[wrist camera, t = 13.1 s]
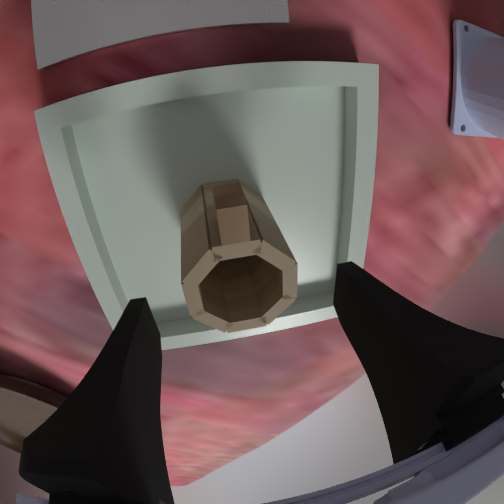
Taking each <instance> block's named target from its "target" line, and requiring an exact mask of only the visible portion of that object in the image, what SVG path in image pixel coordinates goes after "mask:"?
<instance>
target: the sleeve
mask: <svg viewBox="0 0 504 504" xmlns="http://www.w3.org/2000/svg"><path fill="white" fill-rule="evenodd" d="M297 279H298V264H297V262H296V260H295V258H294V256H293V254H292V252H291V250H290V248H289V246H288V244H287V242H286V240H285V238H284V237H283V235H282V233H281V231H280V229H279V227H278V225H277V223H276V221H275V219H274V217H273V215H272V214H271V212H270V210H269V208H268V206H267V204H266V202H265V200H264V199H263V197H262V196H261V195H259V194H258V193H257V192H255V191H254V190H252V189H251V188H250V187H248V186H247V185H245V184H244V183H243V182H241V181H240V180H239V179H238V180H236V179H231V180H224V181H217V182H211V183H205V184H203V186H202V185H200V187H199V188H198V189H197V191H196V192H195V193H194V194H193V196H192V197H191V198H190V200H189V201H188V202H187V203H186V205H185V206H184V207H183V209H182V212H181V286H182V289H183V293H184V297H185V300H186V304H187V307H188V311H189V314H190V317H191V316H192V319H195V320H197V321H199V322H201V323H204V324H206V325H208V326H210V327H213V328H215V329H217V330H219V331H222V332H224V333H225V332H227V333H231V332H237V331H242V330H248V329H253V328H258V327H264V326H266V324H268V325H269V324H270V323H271V322H272V321H274V320H275V319H276V318H277V317H278V316H279V315H280V314H281V313H282V312H283V311H284V310H285V309H286V308H287V307H289V306H290V305H291V304H292V303H293V302H294V301H295V300H296V297H297Z"/></svg>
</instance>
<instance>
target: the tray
mask: <svg viewBox="0 0 504 504" xmlns="http://www.w3.org/2000/svg"><path fill="white" fill-rule="evenodd" d="M378 95H379V65H378V64H369V63H359V62H341V61H274V62H256V63H242V64H231V65H222V66H213V67H205V68H198V69H191V70H184V71H178V72H172V73H167V74H161V75H156V76H151V77H146V78H142V79H137V80H133V81H128V82H124V83H120V84H116V85H112V86H108V87H105V88H101V89H98V90H94V91H91V92H87V93H84V94H81V95H77V96H74V97H71V98H68V99H65V100H62V101H59V102H56V103H53V104H50V105H48V106H45V107H43V108H40V109H38V110H36V111H34V114H35V119H36V123H37V128H38V132H39V136H40V140H41V144H42V148H43V152H44V155H45V159H46V163H47V166H48V170H49V173H50V177H51V180H52V183H53V186H54V189H55V193H56V196H57V199H58V202H59V205H60V208H61V211H62V213H63V216H64V219H65V222H66V225H67V227H68V230H69V233H70V235H71V238H72V240H73V243H74V246H75V248H76V251H77V253H78V256H79V258H80V260H81V263H82V265H83V268H84V270H85V272H86V274H87V277H88V279H89V281H90V284H91V286H92V288H93V290H94V292H95V294H96V297H97V299H98V301H99V303H100V305H101V307H102V309H103V311H104V313H105V315H106V317H107V319H108V321H109V323H110V325H111V327H112V329H113V330H114V328H115V326H116V325H117V323H118V321H119V319H120V317H121V315H122V313H123V311H124V310H125V308H126V306H127V304H128V302H129V301H130V299H136V298H142V297H146V299H147V301H148V304H149V307H150V309H151V312H152V314H153V317H154V319H155V322H156V325H157V327H158V330H159V332H160V335H161V350H166V349H173V348H180V347H187V346H193V345H200V344H206V343H212V342H218V341H224V340H230V339H236V338H241V337H247V336H252V335H257V334H262V333H267V332H272V331H277V330H282V329H287V328H292V327H296V326H301V325H306V324H310V323H314V322H319V321H323V320H327V319H332V318H336V317H338V316H337V313H336V311H335V308H334V305H333V297H334V289H335V280H336V270H337V264H339V263H345V262H350V261H352V262H354V263H355V264H357V265H358V266H360V267H361V268H362V269H363V266H364V259H365V253H366V246H367V239H368V231H369V223H370V215H371V206H372V196H373V186H374V175H375V162H376V147H377V128H378ZM231 179H236V180H238V179H239V180H240V181H241V182H243V183H244V184H245V185H247V186H248V187H250V188H251V189H252V190H254V191H255V192H257V193H258V194H259V195H261V196H262V197H263V199H264V200H265V202H266V204H267V206H268V208H269V210H270V212H271V214H272V215H273V217H274V219H275V221H276V223H277V225H278V227H279V229H280V231H281V233H282V235H283V237H284V238H285V240H286V242H287V244H288V246H289V248H290V250H291V252H292V254H293V256H294V258H295V260H296V262H297V264H298V279H297V297H296V300H295V301H294V302H293V303H292V304H291V305H290V306H289V307H287V308H286V309H285V310H284V311H283V312H282V313H281V314H280V315H279V316H278V317H277V318H276V319H275V320H274V321H272V322H271V323H270V324H269V325H268V324H266V326H264V327H258V328H253V329H248V330H242V331H237V332H231V333H227V332H225V333H224V332H222V331H219V330H217V329H215V328H213V327H210V326H208V325H206V324H204V323H201V322H199V321H197V320H195V319H192V316H191V317H190V314H189V311H188V307H187V304H186V300H185V297H184V293H183V289H182V286H181V212H182V209H183V207H184V206H185V205H186V203H187V202H188V201H189V200H190V198H191V197H192V196H193V194H194V193H195V192H196V191H197V189H198V188H199V187H200V185H202V186H203V184H205V183H211V182H217V181H224V180H231Z"/></svg>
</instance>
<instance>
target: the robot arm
mask: <svg viewBox="0 0 504 504" xmlns="http://www.w3.org/2000/svg"><path fill="white" fill-rule="evenodd" d="M464 27H465V30H464ZM453 45H454V68H453V95H452V110H451V122H450V130H451V132H452V133H454V134H456V135H468V136H482V137H494V138H501V139H503V140H504V38H503V37H501V36H499V35H497V34H495V33H492V32H490V31H488V30H485V29H483V28H481V27H478V26H476V25H473V24H470V23H468V22H465V21H462V20H454V22H453ZM461 126H462V128H461ZM333 305H334V308H335V311H336V313H337V316H338V318H339V321H340V324H341V326H342V328H343V330H344V332H345V333H346V335H347V337H348V339H349V341H350V343H351V345H352V346H353V348H354V350H355V352H356V354H357V356H358V358H359V360H360V361H361V363H362V365H363V367H364V369H365V371H366V373H367V375H368V378H369V380H370V383H371V386H372V388H373V391H374V394H375V397H376V399H377V402H378V405H379V408H380V411H381V414H382V418H383V421H384V425H385V428H386V432H387V436H388V440H389V444H390V449H391V453H392V458H393V463H394V465H391V466H389V467H387V468H384V469H382V470H379V471H376V472H374V473H371V474H368V475H366V476H363V477H361V478H358V479H355V480H352V481H349V482H346V483H343V484H339V485H336V486H333V487H330V488H326V489H323V490H319V491H316V492H312V493H308V494H304V495H300V496H296V497H292V498H288V499H283V500H278V501H273V502H269V503H264V504H345V503H349V502H352V501H354V500H357V499H360V498H363V497H366V496H368V495H371V494H373V493H376V492H379V491H381V490H384V489H386V488H388V487H391V486H393V485H395V484H397V483H400V482H402V481H404V480H407V479H409V478H411V477H413V476H414V478H412V479H411V480H409V481H407V482H405V483H403V484H401V485H399V486H397V487H395V488H393V489H391V490H389V491H388V493H387V494H386V495H384V496H383V497H381V498H379V499H378V500H376V501H374V503H373V504H465V503H466V502H467V501H469V500H470V499H472V498H473V497H475V496H476V495H477V494H479V493H480V492H481V491H483V490H484V489H485V488H487V487H488V486H489V485H490V484H492V483H493V482H494V481H496V480H497V479H498V478H499V477H500V476H502V475H503V474H504V398H503V397H502V395H501V394H503V393H504V389H503V387H502V386H501V383H502V382H503V381H504V339H503V338H499V337H494V336H490V335H486V334H483V333H480V332H476V331H473V330H470V329H467V328H465V327H462V326H459V325H457V324H454V323H452V322H450V321H447V320H445V319H443V318H441V317H439V316H437V315H435V314H433V313H431V312H429V311H427V310H425V309H423V308H421V307H419V306H418V305H416V304H414V303H413V302H411V301H409V300H408V299H406V298H405V297H403V296H401V295H400V294H398V293H397V292H395V291H394V290H392V289H391V288H389V287H388V286H386V285H385V284H384V283H382V282H381V281H379V280H378V279H376V278H375V277H374V276H372V275H371V274H369V273H368V272H367V271H365V270H364V269H362V268H361V267H360V266H358V265H357V264H355V263H354V262H352V261H350V262H345V263H339V264H337V270H336V280H335V289H334V297H333ZM161 370H162V350H161V335H160V332H159V330H158V327H157V325H156V322H155V319H154V317H153V314H152V312H151V309H150V307H149V304H148V301H147V299H146V297H142V298H136V299H130V301H129V302H128V304H127V306H126V308H125V310H124V311H123V313H122V315H121V317H120V319H119V321H118V323H117V325H116V326H115V328H114V330H113V332H112V334H111V335H110V337H109V339H108V341H107V342H106V344H105V346H104V347H103V349H102V351H101V352H100V354H99V356H98V357H97V359H96V360H95V362H94V364H93V365H92V367H91V368H90V370H89V371H88V372H87V374H86V375H85V377H84V378H83V379H82V381H81V382H80V383H79V385H78V386H77V387H76V388H75V390H74V391H73V392H72V393H71V394H70V395H69V397H68V398H67V399H66V400H65V401H64V402H63V404H62V405H61V406H60V407H59V408H58V409H57V410H56V411H55V412H54V413H53V414H52V415H51V416H50V417H49V418H48V419H47V420H46V421H45V422H44V423H43V424H41V425H40V426H39V427H38V428H37V429H36V430H34V431H33V432H32V433H31V434H30V435H29V436H27V437H26V438H25V439H24V440H23V445H22V451H21V458H20V465H19V474H20V476H21V477H22V478H23V479H25V480H26V481H27V482H29V483H31V484H33V485H35V486H36V487H38V488H40V489H42V490H44V491H45V492H48V493H49V494H50V497H49V500H46V499H43V498H39V497H35V496H30V495H26V494H22V493H18V494H17V502H16V504H174V500H173V496H172V491H171V487H170V483H169V477H168V472H167V466H166V461H165V454H164V447H163V439H162V430H161V420H160V395H161Z"/></svg>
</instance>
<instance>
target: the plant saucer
mask: <svg viewBox="0 0 504 504" xmlns="http://www.w3.org/2000/svg"><path fill="white" fill-rule="evenodd" d="M66 399H67V397H65V396H63V395H61V394H59V393H57V392H55V391H53V390H51V389H49V388H46V387H44V386H41V385H39V384H36V383H33V382H31V381H28V380H24V379H21V378H17V377H13V376H9V375H3V374H0V444H1V445H3V446H5V447H7V448H9V449H11V450H13V451H15V452H18V453H20V454H21V451H22V445H23V440H24V439H25V438H26V437H27V436H29V435H30V434H31V433H32V432H33V431H34V430H36V429H37V428H38V427H39V426H40V425H41V424H43V423H44V422H45V421H46V420H47V419H48V418H49V417H50V416H51V415H52V414H53V413H54V412H55V411H56V410H57V409H58V408H59V407H60V406H61V405H62V404H63V402H64V401H65V400H66Z"/></svg>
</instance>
